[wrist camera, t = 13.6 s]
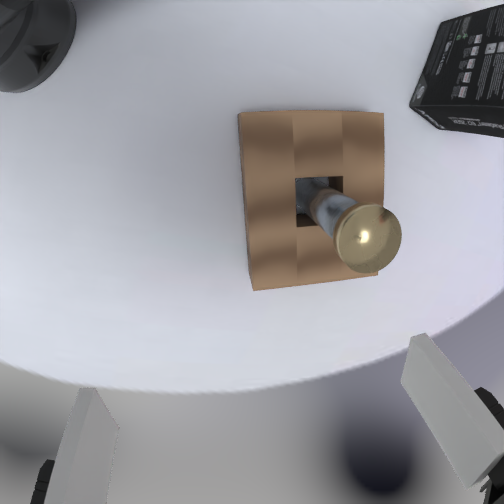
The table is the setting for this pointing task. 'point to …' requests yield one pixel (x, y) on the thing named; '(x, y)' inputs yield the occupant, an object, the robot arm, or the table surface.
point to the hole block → (284, 195)
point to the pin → (351, 225)
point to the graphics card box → (465, 75)
